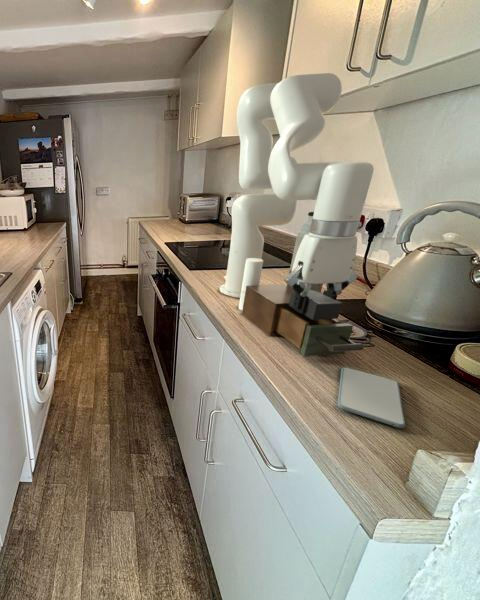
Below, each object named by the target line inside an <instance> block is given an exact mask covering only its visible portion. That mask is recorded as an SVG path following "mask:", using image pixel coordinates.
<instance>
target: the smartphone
mask: <svg viewBox="0 0 480 600" xmlns="http://www.w3.org/2000/svg"><path fill="white" fill-rule="evenodd" d="M336 406H337V407H338V408H339V409H340V410H342V411H345V412H348V413H351V414H355V415H358V416H360V417H364V418H367V419H371V420H373V421H376V422H380V423H382V424H385V425H388V426H392V427H395V428H397V429H403V428H405V427H406V419H405V415H404V409H403V401H402V396H401V390H400V384H399V381H397V380H395V379H392V378H388V377H385V376H380V375H378V374H377V375H376V374H372V373H369V372H365V371H362V370H359V369H353V368H349V367H345V366H344V367H341V370H340V376H339V387H338V394H337V405H336Z"/></svg>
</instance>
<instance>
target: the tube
mask: <svg viewBox="0 0 480 600" xmlns="http://www.w3.org/2000/svg"><path fill="white" fill-rule="evenodd" d="M263 265H264V259H262V258H261V259H258V258H247V259H246V263H245V270H244V276H243V283H242V289H241V296H240V298H239V302H238V309H239V310H240V311H241V312H242V311H243V304H244V298H245V292H246V286H251V285H260V283H261V276H262V270H263Z"/></svg>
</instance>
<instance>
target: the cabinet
mask: <svg viewBox="0 0 480 600" xmlns="http://www.w3.org/2000/svg"><path fill="white" fill-rule="evenodd" d="M292 291H293V290H292V289H291V288H289V287H287V285H286V284H283V283H275V284H273V283H271V284H259V285H251V286H246V292H245V298H244V304H243V311H242V310H241V315H243V316H244V317H245V318H246V319H248V320H249V321H250V322H252V323H253V324H254V325H256V326H257V328H259V329H260V330H262V331H263V332H264V333H266V334H267V335H268V336H269V337H273V336H281V335H280V334H279V333H278V332H276V331H275V330H274V327H275V323H276V318H277V313H278V308H279V307H281V306H289V301H290V297H291V292H292Z"/></svg>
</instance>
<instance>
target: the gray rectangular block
mask: <svg viewBox="0 0 480 600" xmlns="http://www.w3.org/2000/svg"><path fill="white" fill-rule="evenodd" d="M295 294H296V293H295V292H293V291H292V292H291V297H290V301H289V306H290V307H292V308H293V303H294V298H295ZM306 296H308V297H309V299H308V303H307V307H306V311H305V313H302V314H304V315H305V316H307V317H309V318H310V319H312V320H321V319H336V320H339V317H340V314H341V310H342V306H343V302H342V301H340V300H337V299H336V300H335V299H333V298H331V297H328V296H326V295H324V294H323V292H321V293H320V292H318V291H316V290H309V292H308V294H307V295H306Z"/></svg>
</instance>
